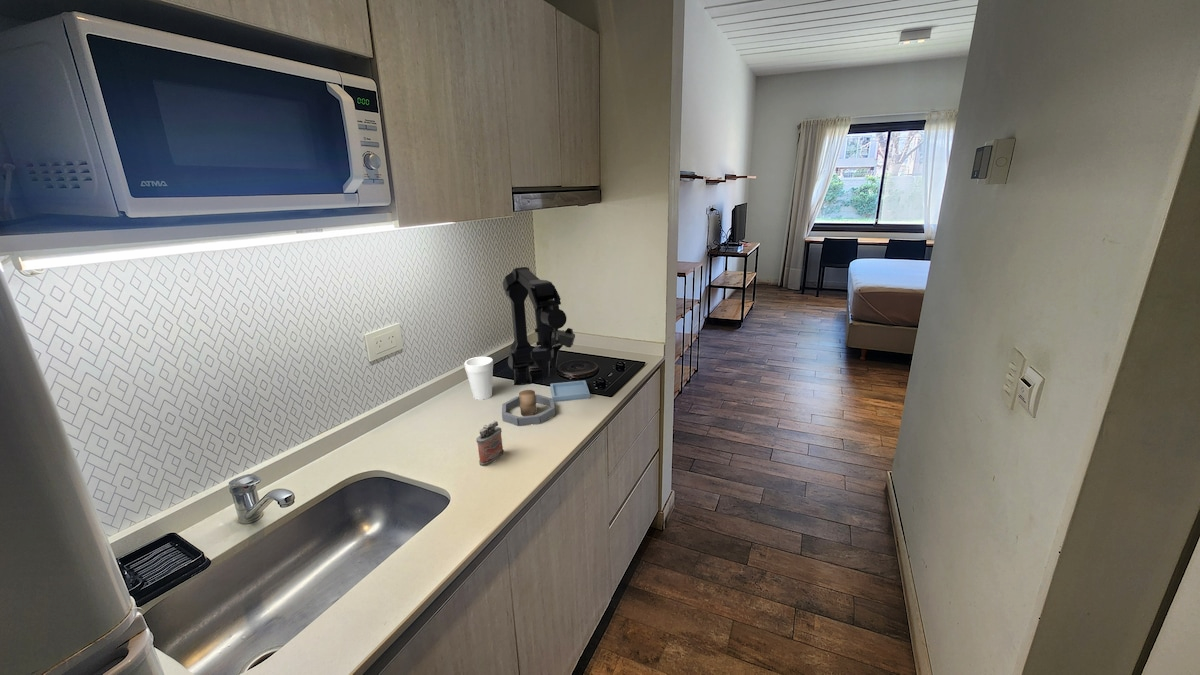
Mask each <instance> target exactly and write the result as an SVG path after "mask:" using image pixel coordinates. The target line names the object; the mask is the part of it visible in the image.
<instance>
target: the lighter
mask: <svg viewBox="0 0 1200 675" xmlns="http://www.w3.org/2000/svg"><path fill="white" fill-rule="evenodd" d="M478 431H479V436H477V437H476V440H475V441H476V443H477V448H478V450H477V451H478V457H479V461H478V464H479V466H480V467H487V466H489V465H491V464H493V463H495V462H496V461H498V460H499V459H500V458H501V457H502V456H503V455H504V454H505V451H504V449H503V448H504V447H503V438H502V432H503V431H502V427H500V426H499V421H497V420H494V421H491V422H490V423H489V424H485V425H483V427H482V428H481V429H479V430H478Z"/></svg>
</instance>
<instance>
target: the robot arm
mask: <svg viewBox="0 0 1200 675" xmlns="http://www.w3.org/2000/svg"><path fill="white" fill-rule="evenodd" d="M502 287H503V290H504V293H505V296H506V297H507V299H509V301H510V304H511V305H510V306H511V307H510V308H511V317H512V318H511V319H512V328H513V342H512V344H511V346H510V354H509V355H508V358H507V364H508V367H509V369H511V370H513V373H514V376H513V385H514V386H516V385H517V386H518V385H528V384H532V383H533V382H532V380H533V379H532V375H531V368H530V366H535V364H536V365H537V367H538V368H539V370H540V371H541V373H542V375H543V376H544V378H549V377H550V366H551V369H557V364H558V356H559V351H560V349H562V347H563V346H565V348H572V346H573V345H574V341H575V338H576V334H575V333H574V331H573V330H574V329H573V328H571V327H568V328H566V329H565V331H564V330H560V329H561V328H563V327H564V326H565V324H566V323H567V314H566V312H564V310H562V309H560V306H559V305H562V303H561V297H560V294H559V293H558V292H559V291H557V289H556V286H555V285H554V284H553V282H552V281H549V280H547V279H540V278H539V277H537V276H536V274H534V273H533V272H532V271H530V268H529V267H528V266H522V267H521V266H520V267H514V268H513V269H512V271H511V272H510V273H509V274H507V275H506V276H505V277H504V279H503V281H502ZM527 297H528V298H529V300H530V302H531V304H532V307H533V309H534V316H535V326H536V328H535V329H534V333H536V336H537V340H536V342H535V343H536V344H535V347H533V346H532V345H531V344H530V342H529V341H528V331H527V318H526V317H527V316H526V304H525V301H526V299H527Z"/></svg>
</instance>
